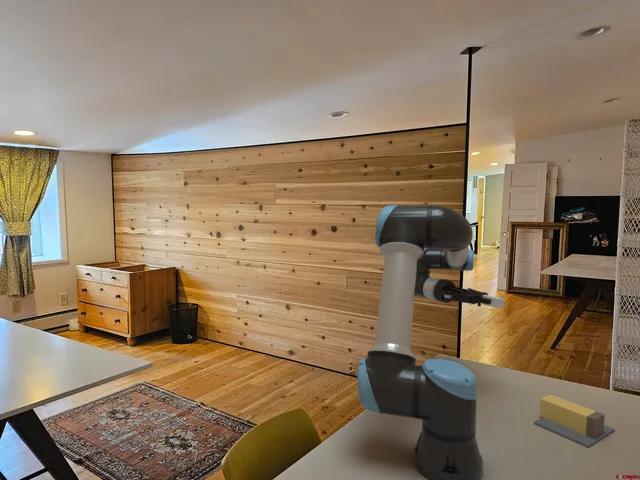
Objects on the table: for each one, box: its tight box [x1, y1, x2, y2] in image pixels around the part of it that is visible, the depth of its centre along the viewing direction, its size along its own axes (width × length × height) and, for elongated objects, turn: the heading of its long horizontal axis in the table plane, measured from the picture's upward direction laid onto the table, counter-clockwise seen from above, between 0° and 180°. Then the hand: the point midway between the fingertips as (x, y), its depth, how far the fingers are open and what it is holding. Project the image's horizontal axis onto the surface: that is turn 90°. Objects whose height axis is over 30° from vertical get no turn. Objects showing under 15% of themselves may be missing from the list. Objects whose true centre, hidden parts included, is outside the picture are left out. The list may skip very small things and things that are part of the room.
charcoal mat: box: [533, 417, 616, 449], centre depth 115 cm, size 14×14×1 cm
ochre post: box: [539, 394, 606, 439], centre depth 115 cm, size 5×5×14 cm
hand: (502, 303), depth 127 cm, fingers closed
